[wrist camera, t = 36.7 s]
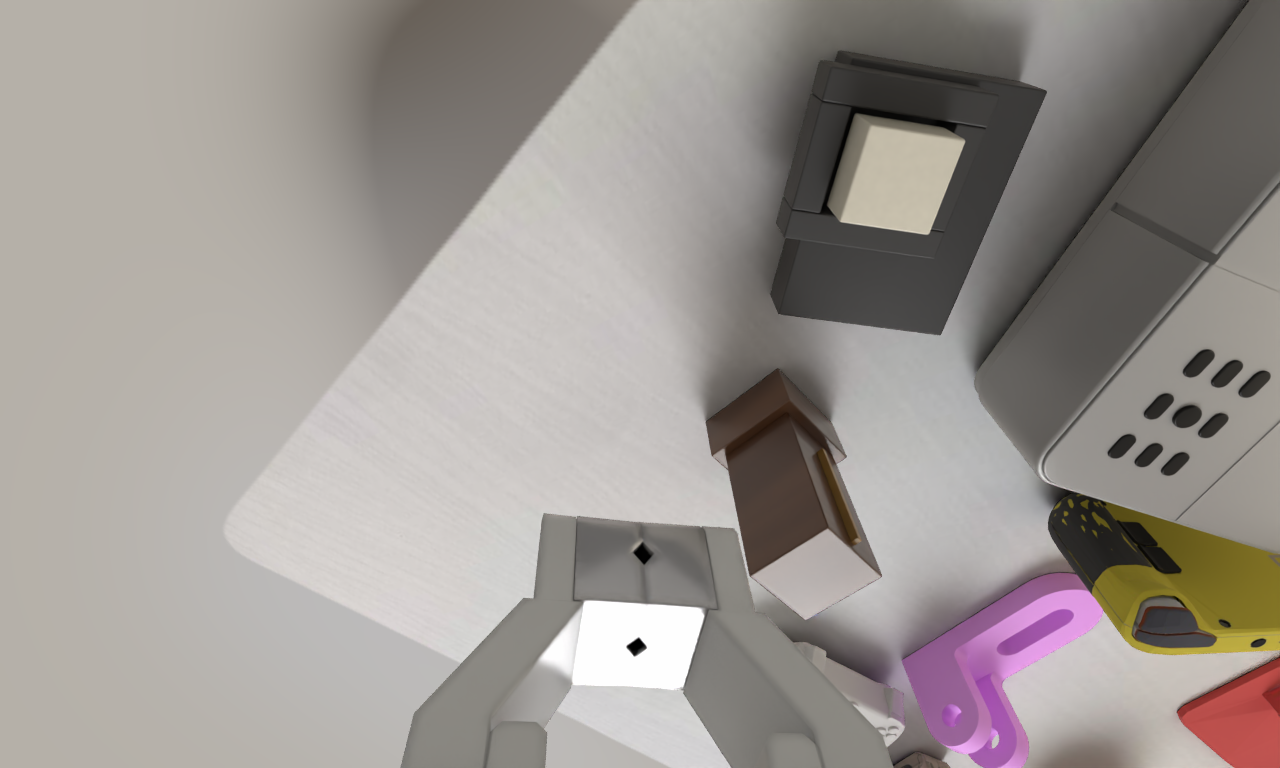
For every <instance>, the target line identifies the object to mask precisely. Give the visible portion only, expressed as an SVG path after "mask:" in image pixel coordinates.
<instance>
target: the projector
mask: <svg viewBox="0 0 1280 768" xmlns="http://www.w3.org/2000/svg"><path fill="white" fill-rule="evenodd" d="M974 385H975V389H976V391H977V392H978V394H979V400H980V402H981V404H982V405H983V406H984V407H985V409H986V410H987V411H988V413H989V414H990V415H991V416H992V418H993V419H994V420H995V422H996V423H997V424H998V425H999V427H1000V428H1001V429H1002V430H1003V432H1004V433H1005V434H1006V436H1007V437H1008V438H1009V439H1010V441H1011V442H1012V443H1013V445H1014V446H1015V447H1016V448H1017V450H1018V451H1019V452H1020V453H1021V455H1022V456H1023V457H1024V459H1025V460H1026V461H1027V462H1028V464H1029V465H1030V466H1031V468H1032V469H1033V470H1034V471H1035V473H1036V474H1037V475H1038V476H1039V478H1040V479H1041V480H1043V481H1044V482H1046V483H1048V484H1051V485H1054V486H1057V487H1060V488H1064V489H1067V490H1070V491H1073V492H1077V493H1080V494H1083V495H1086V496H1090V497H1093V498H1096V499H1099V500H1103V501H1106V502H1109V503H1112V504H1115V505H1119V506H1122V507H1125V508H1128V509H1132V510H1135V511H1138V512H1141V513H1145V514H1148V515H1151V516H1154V517H1158V518H1161V519H1164V520H1167V521H1170V522H1174V523H1177V524H1180V525H1183V526H1187V527H1190V528H1193V529H1196V530H1200V531H1203V532H1206V533H1209V534H1213V535H1216V536H1219V537H1222V538H1225V539H1229V540H1232V541H1235V542H1238V543H1242V544H1245V545H1248V546H1251V547H1255V548H1258V549H1261V550H1264V551H1268V552H1271V553H1275V554H1280V0H1249V2H1248V3H1247V4H1246V6H1245V7H1244V9H1243V10H1242V11H1241V13H1240V14H1239V15H1238V17H1237V18H1236V19H1235V21H1234V22H1233V24H1232V25H1231V26H1230V28H1229V29H1228V30H1227V32H1226V33H1225V34H1224V36H1223V37H1222V39H1221V40H1220V41H1219V43H1218V44H1217V45H1216V47H1215V48H1214V49H1213V51H1212V52H1211V53H1210V55H1209V56H1208V58H1207V59H1206V60H1205V62H1204V63H1203V64H1202V66H1201V67H1200V68H1199V70H1198V71H1197V73H1196V74H1195V75H1194V77H1193V78H1192V79H1191V81H1190V82H1189V83H1188V85H1187V86H1186V88H1185V89H1184V90H1183V92H1182V93H1181V94H1180V96H1179V97H1178V98H1177V100H1176V101H1175V102H1174V104H1173V105H1172V107H1171V108H1170V109H1169V111H1168V112H1167V113H1166V115H1165V116H1164V117H1163V119H1162V120H1161V122H1160V123H1159V124H1158V126H1157V127H1156V128H1155V130H1154V131H1153V132H1152V134H1151V135H1150V137H1149V138H1148V139H1147V141H1146V142H1145V143H1144V145H1143V146H1142V147H1141V149H1140V150H1139V151H1138V153H1137V154H1136V156H1135V157H1134V158H1133V160H1132V161H1131V162H1130V164H1129V165H1128V166H1127V168H1126V169H1125V171H1124V172H1123V173H1122V175H1121V176H1120V177H1119V179H1118V180H1117V181H1116V183H1115V184H1114V186H1113V187H1112V188H1111V190H1110V191H1109V192H1108V194H1107V195H1106V196H1105V198H1104V199H1103V200H1102V202H1101V203H1100V205H1099V206H1098V207H1097V209H1096V210H1095V211H1094V213H1093V214H1092V215H1091V217H1090V218H1089V220H1088V221H1087V222H1086V224H1085V225H1084V226H1083V228H1082V229H1081V230H1080V232H1079V233H1078V235H1077V236H1076V237H1075V239H1074V240H1073V241H1072V243H1071V244H1070V245H1069V247H1068V248H1067V249H1066V251H1065V252H1064V254H1063V255H1062V256H1061V258H1060V259H1059V260H1058V262H1057V263H1056V264H1055V266H1054V267H1053V269H1052V270H1051V271H1050V273H1049V274H1048V275H1047V277H1046V278H1045V279H1044V281H1043V282H1042V284H1041V285H1040V286H1039V288H1038V289H1037V290H1036V292H1035V293H1034V294H1033V296H1032V297H1031V298H1030V300H1029V301H1028V303H1027V304H1026V305H1025V307H1024V308H1023V309H1022V311H1021V312H1020V313H1019V315H1018V316H1017V318H1016V319H1015V320H1014V322H1013V323H1012V324H1011V326H1010V327H1009V328H1008V330H1007V331H1006V333H1005V334H1004V335H1003V337H1002V338H1001V339H1000V341H999V342H998V343H997V345H996V346H995V347H994V349H993V350H992V352H991V353H990V354H989V356H988V357H987V358H986V360H985V361H984V362H983V364H982V365H981V367H980V368H979V369H978V371H977V373H976V375H975V380H974Z"/></svg>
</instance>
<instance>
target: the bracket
mask: <svg viewBox="0 0 1280 768" xmlns="http://www.w3.org/2000/svg"><path fill="white" fill-rule="evenodd" d="M1102 614H1103V609H1102V608H1101V606H1100V605H1099V603H1098V602H1097V601H1096V599H1095V598H1094V597H1093V596H1092V595H1091V593H1090V592H1089V591H1088V589H1087V588H1086V586H1085V585H1084V584H1083V582H1082V581H1081V579H1080V578H1079V577H1078V575H1076V574H1071V573H1053V574H1048V575H1044V576H1040V577H1037V578H1035V579H1033V580H1031V581H1029V582H1027V583H1025V584H1023V585H1022V586H1020V587H1019V588H1017V589H1015V590H1014V591H1012V592H1011V593H1009V594H1007V595H1006V596H1004V597H1003V598H1001V599H999V600H998V601H996V602H995V603H993V604H991V605H990V606H988V607H987V608H985V609H983V610H982V611H980V612H979V613H977V614H975V615H974V616H972V617H970V618H969V619H967V620H966V621H964V622H962V623H961V624H959V625H958V626H956V627H954V628H953V629H951V630H950V631H948V632H946V633H945V634H943V635H942V636H940V637H938V638H937V639H935V640H934V641H932V642H930V643H929V644H927V645H926V646H924V647H922V648H921V649H919V650H917V651H916V652H914V653H913V654H911V655H909V656H908V657H906V658H905V659H903V660H902V663H903V665H904V668H905V670H906V673H907V675H908V678H909V680H910V683H911V686H912V688H913V691H914V693H915V696H916V698H917V701H918V703H919V706H920V709H921V711H922V714H923V716H924V719H925V721H926V724H927V727H928V729H929V731H930V733H931V735H932V736H933V737H934V738H935V739H936V740H937V741H938V742H939V743H941V744H943V745H945V746H946V747H948V748H950V749H952V750H954V751H955V752H958V753H962V754H969V756H970V757H971V759H972V760H973V761H974V762H975V763H977V764H978V765H980V766H982V767H984V768H1022V767H1023V765H1024V764H1025V762H1026V760H1027V758H1028V753H1029V742H1028V738H1027V735H1026V733H1025V731H1024V729H1023V727H1022V725H1021V723H1020V721H1019V719H1018V717H1017V715H1016V714H1015V712H1014V710H1013V708H1012V706H1011V704H1010V702H1009V700H1008V698H1007V696H1006V694H1005V692H1004V690H1003V688H1002V683H1003V681H1004V680H1005V679H1006V678H1008V677H1010V676H1011V675H1013V674H1015V673H1017V672H1018V671H1020V670H1022V669H1024V668H1025V667H1027V666H1029V665H1031V664H1032V663H1034V662H1036V661H1038V660H1040V659H1041V658H1043V657H1045V656H1047V655H1048V654H1050V653H1052V652H1054V651H1055V650H1057V649H1059V648H1061V647H1062V646H1064V645H1066V644H1068V643H1070V642H1071V641H1073V640H1075V639H1077V638H1078V637H1080V636H1082V635H1084V634H1085V633H1087V632H1088V631H1089V630H1091V629H1092V628H1093V627H1094V626H1095V625H1096V624H1097V623H1098V621H1099V620H1100V618H1101V617H1102ZM955 725H956V726H955ZM998 734H999V743H998V745H997V746H996V747H995V748H994V749H992V740H993V738H994V737H995V736H996V735H998Z"/></svg>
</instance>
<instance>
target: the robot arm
mask: <svg viewBox="0 0 1280 768" xmlns="http://www.w3.org/2000/svg"><path fill="white" fill-rule="evenodd" d="M571 685H610V686H635V687H648V688H660V689H673V690H684V692H683V694H684V695H685V697H686V698H687V700H688V701H689V703H690V704H691V706H692V707H693V709H694V711H695V712H696V714H697V715H698V717H699V718H700V720H701V721H702V723H703V724H704V726H705V728H706V729H707V731H708V732H709V734H710V735H711V737H712V738H713V740H714V741H715V743H716V745H717V746H718V748H719V749H720V751H721V752H722V754H723V755H724V757H725V758H726V760H727V762H728V763H729V765H730V766H731V768H894V767H893V764H892V761H891V758H890V756H889V753H888V750H887V747H886V744H885V741H884V738H883V735H882V734H881V733H880V732H879V731H878V730H877V729H876V728H875V727H874V726H873V725H872V724H871V723H870V722H869V721H868V720H867V719H866V718H865V717H864V716H863V715H862V713H861V712H860V711H859V710H858V709H857V708H856V707H855V706H854V705H853V704H852V703H851V702H850V701H849V700H848V699H847V698H846V697H845V696H844V695H843V694H842V693H841V692H840V691H839V690H838V689H837V688H836V687H835V686H834V684H833V683H832V682H831V681H830V680H829V679H828V678H827V677H826V676H825V675H824V674H823V673H822V672H821V671H820V670H819V669H818V668H817V667H816V666H815V665H814V664H813V663H812V662H811V661H810V660H809V659H808V658H807V657H806V655H805V654H804V653H803V652H802V651H801V650H800V649H799V648H798V647H797V646H796V645H795V644H794V643H793V642H792V641H791V640H790V639H789V638H788V637H787V636H786V635H785V634H784V633H783V632H782V631H781V630H780V629H779V628H778V626H777V625H776V624H775V623H774V622H773V621H772V620H771V619H770V618H769V617H768V616H767V615H766V614H764V613H756V612H755V608H754V604H753V599H752V595H751V591H750V586H749V582H748V578H747V573H746V569H745V565H744V560H743V556H742V552H741V547H740V543H739V539H738V534H737V532H736V531H735V530H734V529H733V528H720V527H705V526H702V527H700V526H687V525H673V524H659V523H644V522H629V521H620V520H610V519H600V518H591V517H581V516H577V518H576V517H572V516H563V515H554V514H545V513H544V514H543V518H542V523H541V533H540V542H539V552H538V561H537V571H536V580H535V589H534V599H533V598H523V599H522V600H521V601H520V602H519V603H518V604H517V606H516V607H515V608H514V609H513V610H512V611H511V612H510V613H509V614H508V615H507V616H506V617H505V618H504V619H503V620H502V621H501V622H500V623H499V624H498V626H497V627H496V628H495V629H494V630H493V631H492V632H491V633H490V634H489V635H488V636H487V637H486V638H485V639H484V640H483V641H482V642H481V643H480V644H479V646H478V647H477V648H476V649H475V650H474V651H473V652H472V653H471V654H470V655H469V656H468V657H467V658H466V659H465V660H464V661H463V662H462V663H461V665H460V666H459V667H458V668H457V669H456V670H455V671H454V672H453V673H452V674H451V675H450V676H449V677H448V678H447V679H446V680H445V681H444V682H443V684H442V685H441V686H440V687H439V688H438V689H437V690H436V691H435V692H434V693H433V694H432V695H431V696H430V697H429V698H428V699H427V700H426V701H425V702H424V704H423V705H422V706H421V707H420V708H419V709H418V710H417V711H416V712H415V713H414V716H413V720H412V724H411V728H410V732H409V736H408V740H407V744H406V748H405V752H404V756H403V760H402V764H401V768H545V760H546V744H547V732H546V731H545V730H544V728H545V726H546V725H547V723H548V722H549V720H550V719H551V717H552V716H553V714H554V713H555V711H556V710H557V708H558V707H559V705H560V704H561V702H562V701H563V699H564V698H565V696H566V695H567V693H568V692H569V690H570V689H571Z"/></svg>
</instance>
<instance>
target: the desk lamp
mask: <svg viewBox="0 0 1280 768" xmlns="http://www.w3.org/2000/svg"><path fill="white" fill-rule="evenodd" d="M1177 713H1178V716H1179V719H1180V720H1181V722H1182V723H1183V724H1184V725H1185V726H1186V727H1187V728H1188V729H1189V730H1190V731H1191V732H1193V733H1194V734H1195V735H1196V736H1197V737H1198V738H1199V739H1201V740H1202V741H1203V742H1204V743H1205V744H1206V745H1208V746H1209V747H1210V748H1211V749H1212V750H1213V751H1214V752H1216V753H1217V754H1218V755H1219V756H1220V757H1221V758H1222V759H1224V760H1225V761H1226V762H1228V763H1229V764H1230V765H1232V766H1233V767H1234V768H1280V658H1278V659H1276V660H1274V661H1272V662H1270V663H1268V664H1266V665H1264V666H1262V667H1260V668H1258V669H1256V670H1254V671H1252V672H1250V673H1248V674H1246V675H1244V676H1242V677H1240V678H1238V679H1236V680H1234V681H1232V682H1230V683H1228V684H1226V685H1224V686H1222V687H1220V688H1218V689H1216V690H1214V691H1212V692H1210V693H1208V694H1206V695H1204V696H1202V697H1200V698H1198V699H1196V700H1194V701H1192V702H1190V703H1188V704H1186V705H1184V706H1182V707H1181V709H1180V710H1179V711H1178V712H1177Z"/></svg>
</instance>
